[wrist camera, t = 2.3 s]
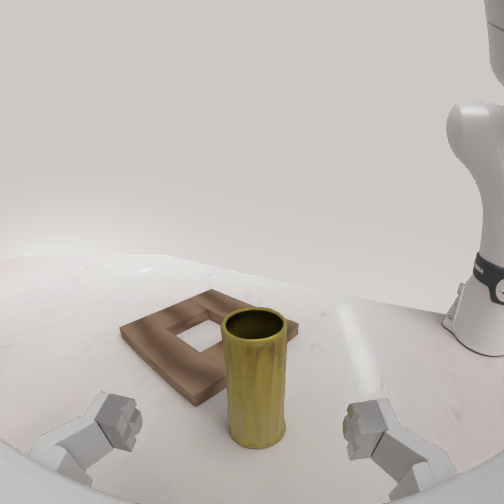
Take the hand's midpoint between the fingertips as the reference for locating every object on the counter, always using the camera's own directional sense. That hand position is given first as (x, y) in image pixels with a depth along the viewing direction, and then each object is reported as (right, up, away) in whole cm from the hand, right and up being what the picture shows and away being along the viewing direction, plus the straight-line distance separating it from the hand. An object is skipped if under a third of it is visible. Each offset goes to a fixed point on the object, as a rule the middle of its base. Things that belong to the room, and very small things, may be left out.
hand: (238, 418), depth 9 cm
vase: (+1, -13, +17) cm, 22 cm away
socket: (-7, -8, +34) cm, 36 cm away
